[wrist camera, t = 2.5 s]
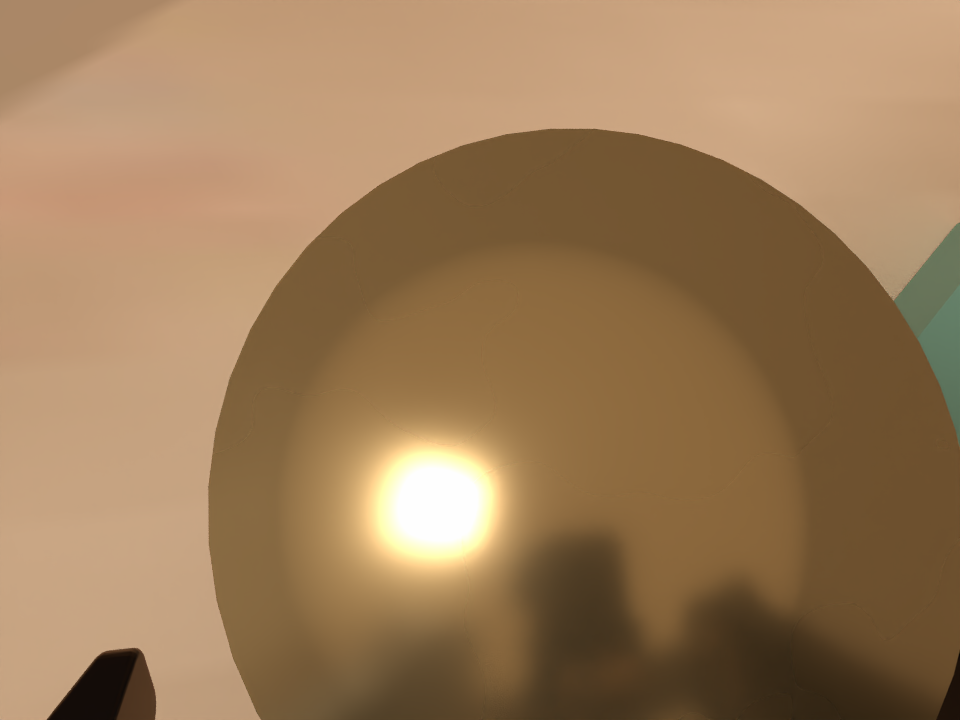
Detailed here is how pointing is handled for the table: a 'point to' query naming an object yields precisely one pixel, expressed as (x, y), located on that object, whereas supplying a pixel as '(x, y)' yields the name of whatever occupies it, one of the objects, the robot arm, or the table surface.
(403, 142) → the table surface
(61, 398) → the table surface
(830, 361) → the metal peg
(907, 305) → the jig
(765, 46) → the table surface
